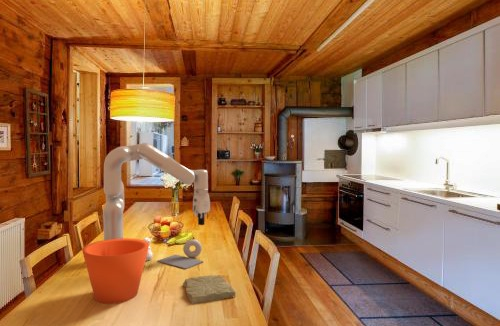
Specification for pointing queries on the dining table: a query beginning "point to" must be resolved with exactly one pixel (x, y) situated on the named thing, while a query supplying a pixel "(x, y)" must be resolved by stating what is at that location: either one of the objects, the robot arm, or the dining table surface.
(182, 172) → the robot arm
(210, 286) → the stone slab
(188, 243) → the donut
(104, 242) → the flowerpot
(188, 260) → the rubber mat
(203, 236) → the dining table surface
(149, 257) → the white creature statuette
